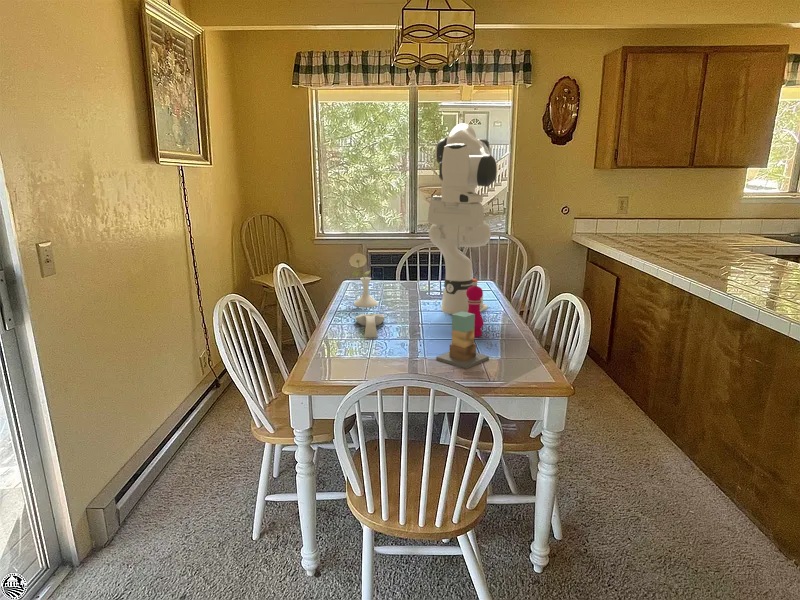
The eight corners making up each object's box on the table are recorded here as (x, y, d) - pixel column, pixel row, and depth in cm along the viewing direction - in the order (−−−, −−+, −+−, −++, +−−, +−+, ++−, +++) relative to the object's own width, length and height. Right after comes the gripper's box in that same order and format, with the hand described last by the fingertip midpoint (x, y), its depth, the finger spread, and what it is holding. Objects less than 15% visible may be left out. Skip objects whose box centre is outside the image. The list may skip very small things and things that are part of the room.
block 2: (461, 341, 164) (461, 326, 163) (473, 344, 161) (474, 329, 160) (451, 344, 161) (452, 329, 160) (464, 348, 157) (465, 332, 156)
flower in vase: (380, 305, 231) (379, 251, 226) (376, 311, 220) (376, 255, 215) (352, 305, 233) (350, 251, 227) (347, 311, 222) (345, 254, 216)
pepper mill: (479, 331, 192) (481, 279, 187) (485, 337, 185) (487, 283, 180) (461, 332, 190) (462, 280, 186) (466, 338, 184) (468, 284, 179)
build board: (458, 350, 170) (459, 347, 170) (488, 359, 162) (489, 356, 162) (436, 359, 162) (436, 356, 162) (466, 369, 154) (466, 365, 154)
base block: (460, 352, 166) (461, 340, 165) (475, 356, 162) (476, 344, 161) (449, 356, 162) (449, 344, 161) (464, 361, 158) (464, 348, 157)
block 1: (461, 326, 163) (462, 311, 162) (474, 329, 160) (474, 314, 159) (452, 329, 160) (452, 314, 158) (464, 332, 156) (465, 317, 155)
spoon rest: (355, 322, 206) (354, 305, 204) (384, 321, 207) (383, 304, 205) (355, 340, 183) (355, 321, 181) (388, 339, 184) (388, 320, 182)
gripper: (423, 196, 165) (423, 238, 168) (475, 197, 151) (473, 243, 155) (436, 195, 170) (435, 236, 173) (487, 196, 156) (485, 241, 159)
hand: (454, 239), depth 164 cm, fingers open, 8 cm apart
